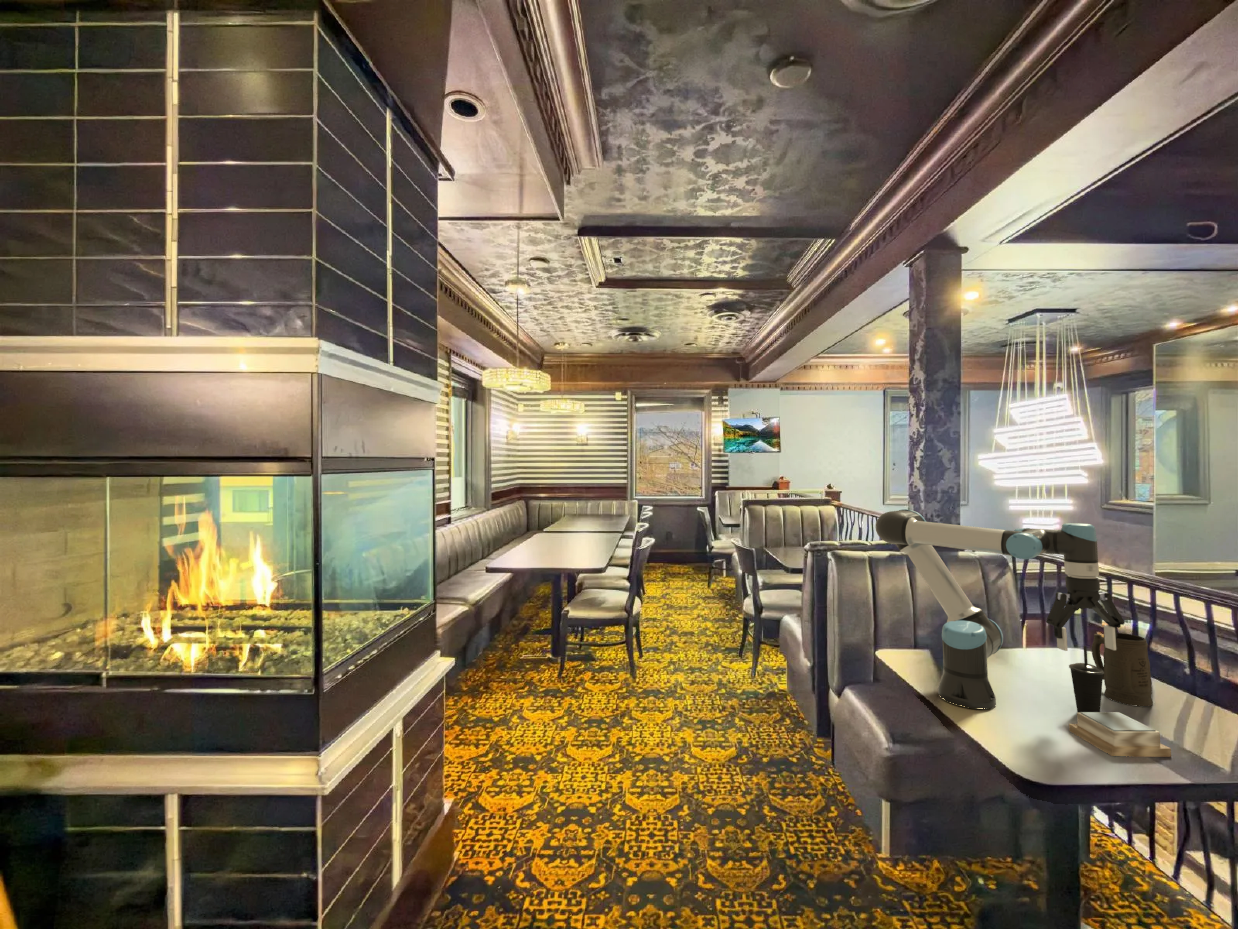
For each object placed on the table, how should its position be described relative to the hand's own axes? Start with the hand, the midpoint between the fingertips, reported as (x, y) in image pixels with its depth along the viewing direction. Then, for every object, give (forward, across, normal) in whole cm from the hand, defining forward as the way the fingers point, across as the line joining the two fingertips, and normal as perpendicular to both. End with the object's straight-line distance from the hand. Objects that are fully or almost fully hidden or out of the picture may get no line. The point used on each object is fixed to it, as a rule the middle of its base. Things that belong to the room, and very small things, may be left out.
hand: (1086, 649), depth 150 cm
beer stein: (+20, +20, +13) cm, 31 cm away
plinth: (+19, -6, -16) cm, 26 cm away
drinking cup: (+19, 0, 0) cm, 19 cm away
